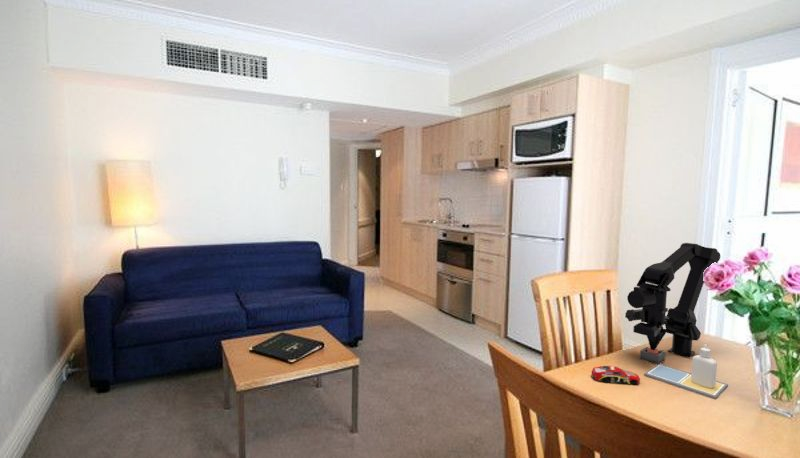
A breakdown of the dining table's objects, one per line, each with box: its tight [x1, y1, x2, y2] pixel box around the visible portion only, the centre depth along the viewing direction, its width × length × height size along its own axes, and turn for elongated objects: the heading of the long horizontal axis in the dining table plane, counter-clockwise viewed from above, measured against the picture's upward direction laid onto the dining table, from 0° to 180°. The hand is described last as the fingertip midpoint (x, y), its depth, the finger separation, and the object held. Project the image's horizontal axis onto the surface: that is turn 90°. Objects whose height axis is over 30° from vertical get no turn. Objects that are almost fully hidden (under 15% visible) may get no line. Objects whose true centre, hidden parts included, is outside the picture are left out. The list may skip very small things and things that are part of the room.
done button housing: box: [639, 346, 666, 365], centre depth 134 cm, size 6×6×3 cm
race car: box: [590, 365, 641, 386], centre depth 120 cm, size 13×5×4 cm, turn 78°
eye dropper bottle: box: [691, 343, 718, 388], centre depth 115 cm, size 4×6×12 cm
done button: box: [647, 347, 659, 355], centre depth 134 cm, size 3×3×2 cm
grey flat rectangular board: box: [643, 363, 729, 400], centre depth 119 cm, size 12×18×1 cm, turn 38°
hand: (652, 349), depth 134 cm, fingers closed, pressing on done button
